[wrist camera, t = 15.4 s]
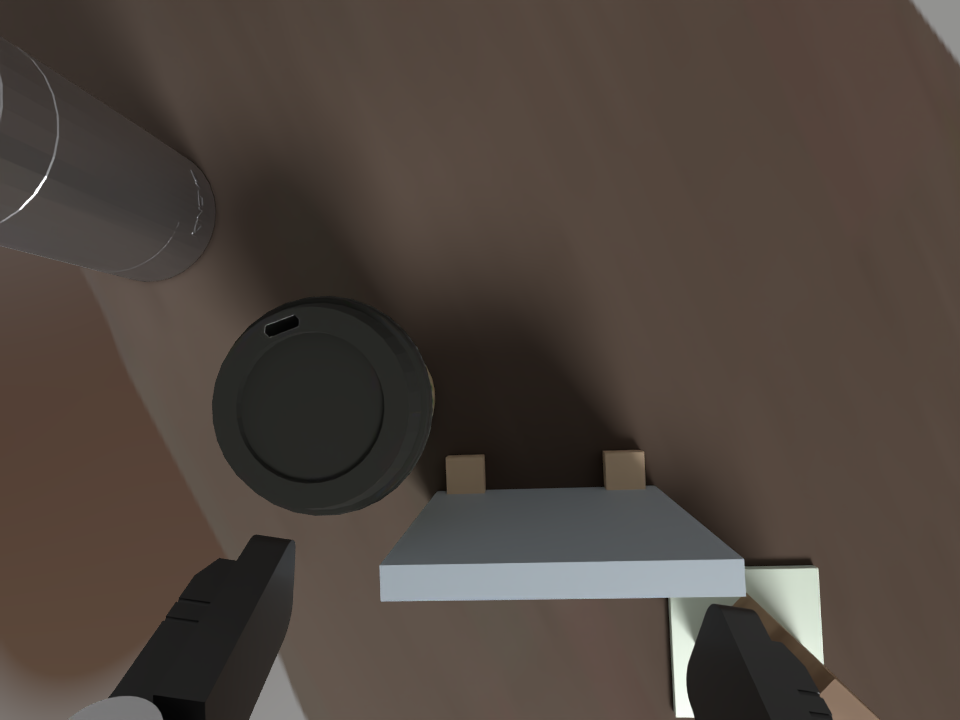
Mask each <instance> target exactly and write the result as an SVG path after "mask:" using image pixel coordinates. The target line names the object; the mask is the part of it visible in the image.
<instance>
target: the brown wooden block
mask: <svg viewBox="0 0 960 720" xmlns="http://www.w3.org/2000/svg"><path fill="white" fill-rule="evenodd" d="M733 606H734V607H741V608H747V609H752V610H754V611H755V612H756V613H757V614H758V616H759V617H760V619H761V621H762V623H763V625H764V627H765V629H766V631H767V633H768V635H769V637H770V638H771V640H772V641H776V642H782V643H783V644H784V645H785V646H786V647H787V648H788V649H789V650H790V651H791V652H792V653H793V654H794V655H795V656H796V657H797V658H798V659H799V660H800V661H801V663H802V664H803V665H804V666H805V667H806V669H807V670H808V672H809V674H810V676H811V677H812V679H813V681H814V683H815V685H816V686H817V688H818V690H819V692H820V697H821V698H823V699H824V701H825V702H826V704H827V706H828V708H829V709H830V711H831V713H832V719H833V720H881V719H880V718H878V717H877V716H876V715H875V714H874V713H873V712H872V711H871V710H870V709H869V708H868V707H867V706H866V705H865V704H864V703H863V702H862V701H861V700H860V699H859V698H858V697H857V696H856V695H854V694H853V693H852V692H851V691H850V690H849V689H848V688H847V687H846V686H845V685H844V684H843V683H842V682H841V681H840V680H839V679H838V678H837V677H836V676H835V675H834V674H833V673H832V672H831V671H829V670H828V669H827V668H826V667H825V666H824V665H823V664H822V663H821V662H820V661H819V660H818V659H817V658H816V657H815V656H814V655H813V654H812V653H811V652H810V651H809V650H808V649H807V648H805V647H804V646H803V645H802V644H801V643H800V642H799V641H798V640H797V639H796V638H795V637H794V636H793V635H792V634H791V633H789V632H788V631H787V630H786V629H785V628H784V627H783V626H782V625H781V624H780V623H779V622H778V621H776V620H775V619H774V618H773V617H772V616H771V615H770V614H769V613H768V612H767V611H766V610H765V609H764V608H762V607H761V606H760V605H759V604H758V603H757V602H756V601H755V600H754V599H753V598H752V597H751V596H749V595H748V594H747V593H746V597H740V598H739V599H738V600H737V601H736V602H735V603H734V605H733Z"/></svg>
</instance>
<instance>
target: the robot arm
mask: <svg viewBox="0 0 960 720" xmlns="http://www.w3.org/2000/svg"><path fill="white" fill-rule="evenodd" d="M215 212H216V210H215V202H214V196H213V193H212V190H211V187H210V184H209V182H208V181H207V179H206V178H205V176H204V174H203V173H202V171H201V170H200V169H199V168H198V167H197V166H196V165H195V164H194V163H193V162H192V161H190V160H189V159H187V158H186V157H184V156H183V155H181V154H180V153H178V152H177V151H175V150H174V149H172V148H171V147H169V146H168V145H166V144H165V143H163V142H162V141H160V140H159V139H157V138H156V137H154V136H153V135H151V134H150V133H148V132H147V131H145V130H144V129H142V128H141V127H139V126H138V125H136V124H135V123H133V122H132V121H130V120H128V119H127V118H125V117H124V116H122V115H121V114H119V113H118V112H116V111H115V110H113V109H112V108H110V107H109V106H107V105H106V104H104V103H102V102H101V101H99V100H98V99H96V98H95V97H93V96H92V95H90V94H89V93H87V92H86V91H84V90H83V89H81V88H79V87H78V86H76V85H75V84H73V83H72V82H70V81H69V80H67V79H66V78H64V77H63V76H61V75H60V74H58V73H57V72H55V71H53V70H52V69H50V68H49V67H47V66H46V65H44V64H43V63H41V62H40V61H38V60H37V59H35V58H34V57H32V56H30V55H29V54H27V53H26V52H24V51H23V50H21V49H20V48H18V47H16V46H15V45H13V44H12V43H10V42H9V41H7V40H5V39H4V38H2V37H1V36H0V246H3V247H7V248H11V249H15V250H19V251H23V252H27V253H31V254H35V255H39V256H42V257H46V258H50V259H54V260H58V261H63V262H66V263H70V264H74V265H78V266H82V267H86V268H89V269H93V270H97V271H101V272H105V273H109V274H113V275H117V276H120V277H124V278H128V279H133V280H138V281H144V282H147V281H160V280H164V279H168V278H172V277H173V276H175V275H177V274H179V273H181V272H183V271H185V270H186V269H187V268H188V267H190V266H191V265H192V264H193V263H195V262H196V260H197V259H198V258H199V257H200V255H201V254H202V253H203V252H204V250H205V248H206V246H207V245H208V243H209V241H210V239H211V235H212V232H213V229H214V225H215ZM294 568H295V542H294V540H289V539H282V538H275V537H268V536H262V535H254V536H253V537H252V538H251V539H250V540H249V542H248V544H247V545H246V547H245V548H244V550H243V552H242V553H241V555H240V556H239V558H238V560H237V561H235V560H228V559H221V558H219V559H217V560H216V561H214V562H213V563H212V564H210V565H209V566H207V567H206V568H205V569H203V570H202V571H200V572H199V573H197V574H196V575H195V576H194V577H193V579H192V580H191V581H190V583H189V584H188V586H187V587H186V589H185V590H184V591H183V593H182V594H181V596H180V597H179V601H178V602H176V603H175V604H174V606H173V607H172V608H171V610H170V612H169V613H168V614H167V616H166V619H165V621H162V623H161V624H160V626H159V627H158V629H157V630H156V631H155V633H154V634H153V636H152V637H151V638H150V640H149V641H148V643H147V644H146V646H145V647H144V648H143V650H142V651H141V653H140V654H139V656H138V657H137V658H136V660H135V661H134V663H133V664H132V666H131V667H130V668H129V670H128V671H127V673H126V674H125V676H124V677H123V679H122V680H121V681H120V683H119V684H118V686H117V687H116V689H115V690H114V691H113V693H112V694H111V695H110V696H109V697H108V699H105V700H101V701H99V702H96V703H94V704H91V705H89V706H87V707H86V708H84V709H82V710H80V711H79V712H77V713H76V714H75V715H73V716H72V717H70V718H69V719H68V720H249V718H250V716H251V713H252V711H253V709H254V706H255V704H256V702H257V700H258V697H259V695H260V692H261V690H262V688H263V686H264V684H265V681H266V679H267V677H268V674H269V672H270V670H271V667H272V665H273V663H274V660H275V658H276V656H277V654H278V652H279V649H280V647H281V645H282V642H283V640H284V638H285V635H286V632H287V629H288V625H289V621H290V617H291V612H292V604H293V587H294ZM686 686H687V694H688V698H689V702H690V705H691V708H692V711H693V714H694V717H695V720H833V719H832V713H831V711H830V709H829V708H828V706H827V704H826V702H825V701H824V699H823V698H821V697H820V692H819V690H818V688H817V686H816V685H815V683H814V681H813V679H812V677H811V676H810V674H809V672H808V670H807V669H806V667H805V666H804V665H803V664H802V663H801V661H800V660H799V659H798V658H797V657H796V656H795V655H794V654H793V653H792V652H791V651H790V650H789V649H788V648H787V647H786V646H785V645H784V644H783V643H782V642H776V641H772V640H771V638H770V637H769V635H768V633H767V631H766V629H765V627H764V625H763V623H762V621H761V619H760V617H759V616H758V614H757V613H756V612H755V611H754V610H752V609H747V608H741V607H734V606H727V605H720V604H711V605H710V606H709V607H708V609H707V611H706V613H705V616H704V619H703V622H702V625H701V628H700V630H699V633H698V636H697V639H696V642H695V645H694V648H693V650H692V653H691V656H690V659H689V662H688V666H687V673H686Z"/></svg>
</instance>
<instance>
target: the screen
mask: <svg viewBox="0 0 960 720" xmlns="http://www.w3.org/2000/svg"><path fill="white" fill-rule="evenodd" d="M603 473H604V487H579V488H541V489H502V490H486V478H485V454H482V455H449V456H447V457H446V480H447V491H437V492H436V493H435V495H434V496H433V497H432V499H431V500H430V501H429V502H428V504H427V505H426V506H425V508H424V509H423V510H422V511H421V513H420V514H419V515H418V517H417V518H416V519H415V520H414V522H413V523H412V524H411V526H410V527H409V528H408V529H407V531H406V532H405V533H404V535H403V536H402V537H401V539H400V540H399V541H398V542H397V544H396V545H395V546H394V548H393V549H392V550H391V551H390V553H389V554H388V555H387V557H386V558H385V559H384V560H383V562H382V563H381V564H380V592H381V601H447V600H523V599H599V598H675V597H746V585H745V566H744V559H743V558H742V557H741V556H740V555H739V554H737V553H736V552H735V551H734V550H732V549H731V548H730V547H729V546H728V545H726V544H725V543H724V542H723V541H722V540H720V539H719V538H718V537H717V536H715V535H714V534H713V533H712V532H711V531H709V530H708V529H707V528H706V527H705V526H703V525H702V524H701V523H700V522H698V521H697V520H696V519H695V518H694V517H692V516H691V515H690V514H689V513H688V512H686V511H685V510H684V509H683V508H681V507H680V506H679V505H678V504H677V503H675V502H674V501H673V500H672V499H671V498H669V497H668V496H667V495H666V494H665V493H663V492H662V491H661V490H660V489H658V488H657V487H656V486H646V482H645V461H644V452H643V451H642V450H615V451H603Z"/></svg>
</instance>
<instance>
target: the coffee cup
mask: <svg viewBox="0 0 960 720" xmlns="http://www.w3.org/2000/svg"><path fill="white" fill-rule="evenodd" d="M434 406H435V389H434V385H433V381H432V377H431V375H430V373H429V371H428V369H427V367H426V365H425V363H424V361H423V359H422V357H421V355H420V352H419V350H418V348H417V347H416V345H415V344H414V343H413V341H412V340H411V339H410V337H409V336H408V335H407V333H406V332H405V331H404V330H403V329H402V328H401V327H400V326H399V325H398V324H397V323H395V322H394V321H393V320H392V319H391V318H390V317H389V316H387V315H385V314H384V313H382V312H380V311H379V310H377V309H375V308H374V307H372V306H370V305H367V304H364V303H361V302H358V301H356V300H353V299H348V298H341V297H334V296H323V297H308V298H304V299H300V300H296V301H292V302H289V303H285V304H283V305H281V306H279V307H277V308H275V309H273V310H271V311H269V312H267V313H266V314H264V315H263V316H262V317H260V318H259V319H258V320H257V321H255V322H254V323H253V324H251V325H250V326H249V327H248V328H247V329H246V330H245V332H244V333H243V334H242V335H241V336H240V337H239V338H238V340H237V341H236V342H235V344H234V345H233V347H232V348H231V349H230V351H229V353H228V355H227V356H226V358H225V360H224V361H223V363H222V365H221V368H220V371H219V373H218V376H217V379H216V382H215V387H214V394H213V400H212V410H213V424H214V429H215V433H216V437H217V441H218V443H219V446H220V448H221V450H222V452H223V455H224V457H225V459H226V460H227V462H228V463H229V465H230V466H231V468H232V469H233V470H234V472H235V473H236V475H237V476H238V477H239V478H240V479H242V480H243V481H244V482H245V483H246V484H247V485H248V486H249V487H250V488H251V489H252V490H253V491H254V492H255V493H257V494H258V495H260V496H262V497H263V498H265V499H266V500H268V501H269V502H271V503H273V504H274V505H277V506H279V507H282V508H285V509H287V510H290V511H292V512H296V513H302V514H308V515H314V516H320V515H340V514H344V513H348V512H352V511H356V510H360V509H363V508H365V507H367V506H369V505H371V504H373V503H375V502H378V501H380V500H381V499H382V498H384V497H385V496H386V495H388V494H389V493H390V492H392V491H393V490H394V489H396V488H397V487H398V486H399V485H400V484H401V483H402V482H403V480H404V479H405V478H406V477H407V476H408V475H409V474H410V473H411V472H412V470H413V468H414V466H415V465H416V463H417V461H418V460H419V458H420V456H421V455H422V453H423V450H424V448H425V445H426V442H427V439H428V436H429V433H430V428H431V421H432V416H433V413H434Z"/></svg>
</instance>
